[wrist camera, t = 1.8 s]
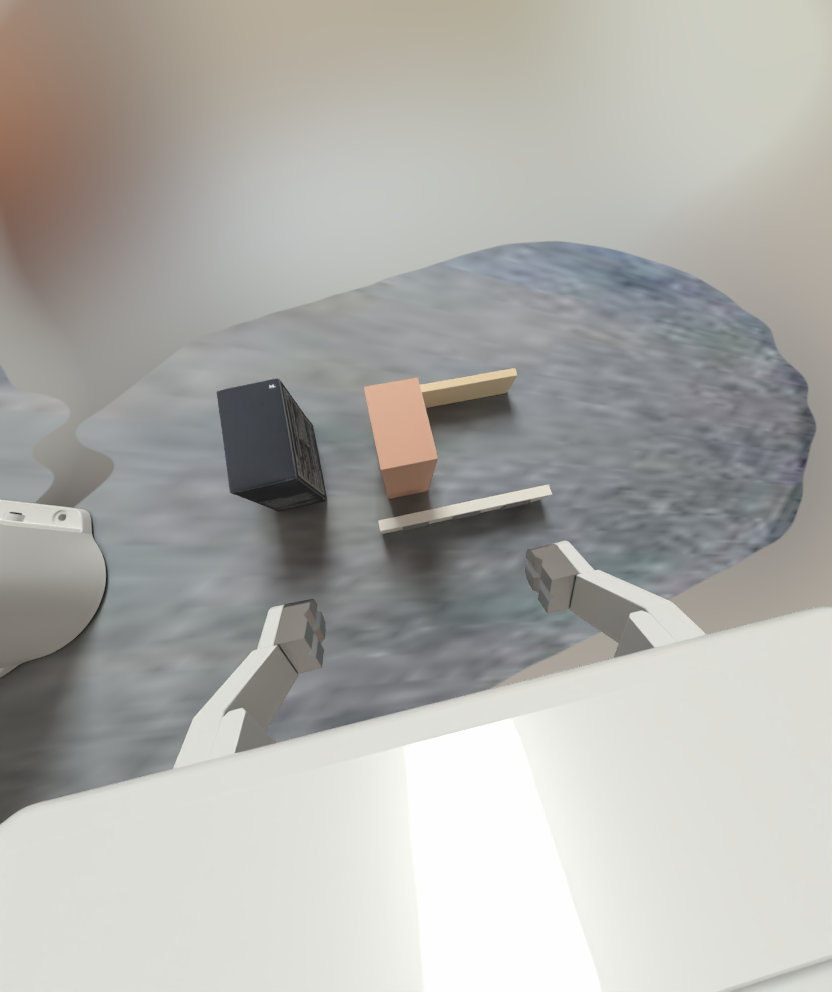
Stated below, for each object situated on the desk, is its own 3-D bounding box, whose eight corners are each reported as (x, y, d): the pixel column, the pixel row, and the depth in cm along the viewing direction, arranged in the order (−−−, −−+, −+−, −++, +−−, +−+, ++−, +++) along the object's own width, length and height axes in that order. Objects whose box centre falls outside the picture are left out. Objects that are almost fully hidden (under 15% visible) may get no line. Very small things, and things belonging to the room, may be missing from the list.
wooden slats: (382, 536, 37) (380, 533, 33) (358, 413, 40) (353, 396, 36) (540, 502, 38) (556, 495, 35) (504, 386, 42) (515, 368, 38)
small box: (262, 433, 39) (211, 387, 29) (313, 423, 40) (281, 374, 30) (274, 513, 37) (224, 494, 27) (328, 501, 38) (299, 477, 27)
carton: (388, 499, 38) (380, 469, 26) (376, 439, 40) (363, 387, 28) (429, 490, 38) (440, 458, 27) (415, 432, 40) (419, 377, 28)
